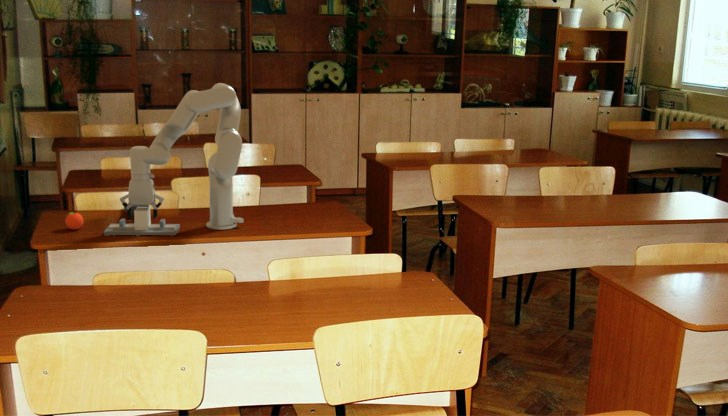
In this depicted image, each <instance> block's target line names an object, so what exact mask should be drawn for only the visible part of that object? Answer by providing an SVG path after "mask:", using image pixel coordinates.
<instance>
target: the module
mask: <svg viewBox="0 0 728 416" xmlns="http://www.w3.org/2000/svg"><path fill="white" fill-rule="evenodd" d="M133 216H134V217H133V219H134V221H133V224H135V230H148V226H149V225H151V224H152V221H151V219H152V218H151V207H150V206H149V207H137V208H136V209H135V210H134V215H133Z"/></svg>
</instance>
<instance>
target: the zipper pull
mask: <svg viewBox="0 0 728 416" xmlns="http://www.w3.org/2000/svg"><path fill="white" fill-rule="evenodd" d="M127 204H128V205H129V202H128V203H127ZM137 207H150V205H132V206H131V208H132V216H134V210H135V209H136V208H137ZM123 210H124V211H125V210H126V211H125V212H126V213H127V209H126V208H125V207H124V206H123Z"/></svg>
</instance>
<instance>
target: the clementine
mask: <svg viewBox="0 0 728 416" xmlns="http://www.w3.org/2000/svg"><path fill="white" fill-rule="evenodd" d="M84 222H85V221H84V217H83V215H81V214H80V213H78V212H69V213H66V215H65V225H66V227H67V228H68V229H70V230H73V231H74V230H78V229H80V228H81V227H82V226H83V224H84Z"/></svg>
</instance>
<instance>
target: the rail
mask: <svg viewBox="0 0 728 416" xmlns="http://www.w3.org/2000/svg"><path fill="white" fill-rule="evenodd" d="M118 224H119V225H110V224H109V225H110V226H109V225H108V226H109V229H135V225H125V224H126V218H121V219H119V221H118ZM159 224H160V225H149V226H148V229H175V227H176V225H165V224H166V218H161V219H160V220H159Z"/></svg>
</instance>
